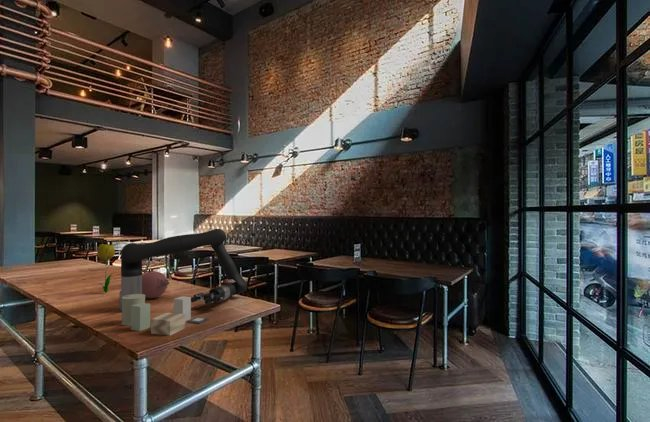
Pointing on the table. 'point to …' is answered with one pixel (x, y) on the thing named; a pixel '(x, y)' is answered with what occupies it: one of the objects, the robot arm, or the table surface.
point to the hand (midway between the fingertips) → (198, 301)
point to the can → (126, 306)
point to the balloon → (153, 284)
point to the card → (198, 320)
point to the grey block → (183, 306)
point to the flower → (106, 254)
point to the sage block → (140, 316)
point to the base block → (167, 324)
